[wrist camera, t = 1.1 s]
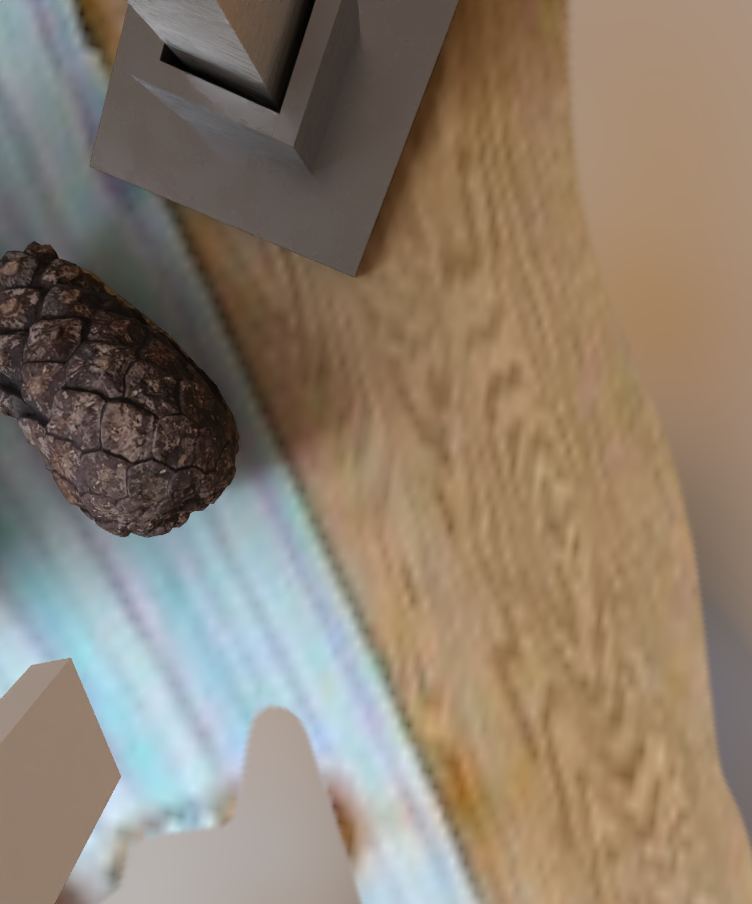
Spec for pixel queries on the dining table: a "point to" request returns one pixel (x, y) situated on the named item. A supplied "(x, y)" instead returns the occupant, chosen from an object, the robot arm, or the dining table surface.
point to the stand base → (280, 127)
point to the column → (234, 41)
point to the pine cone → (109, 398)
